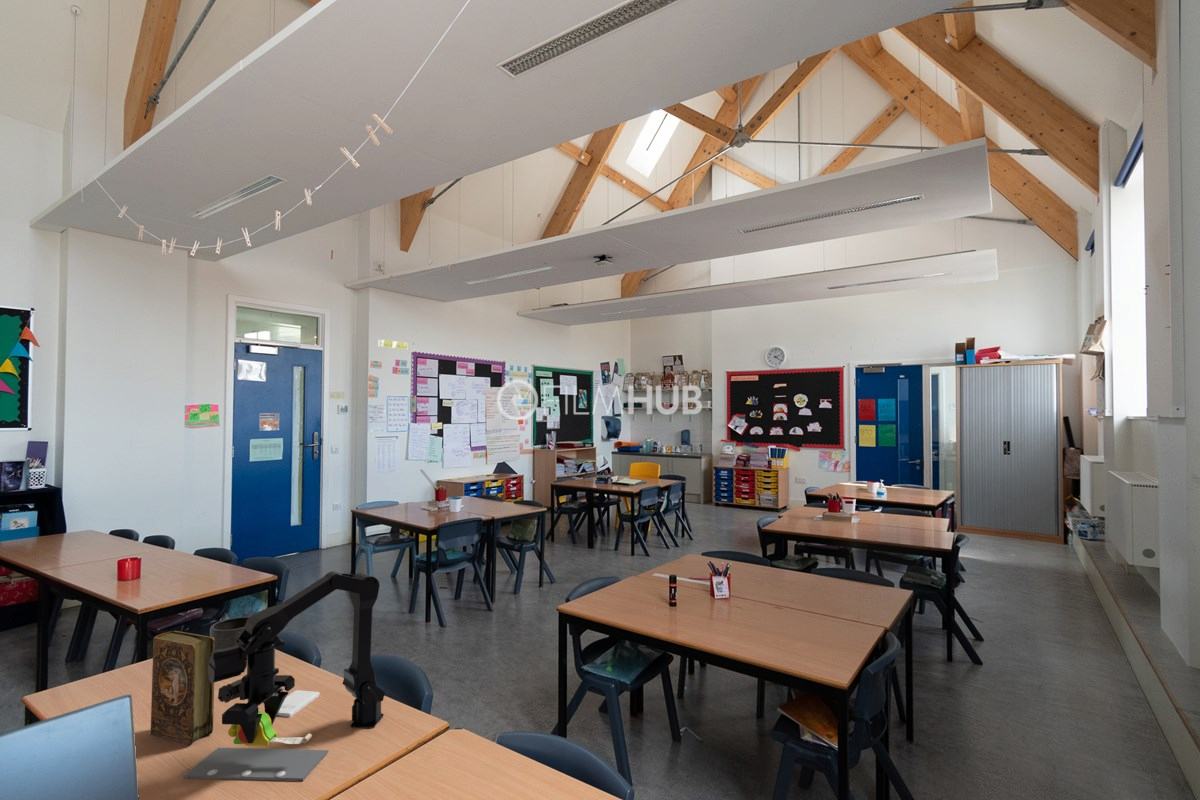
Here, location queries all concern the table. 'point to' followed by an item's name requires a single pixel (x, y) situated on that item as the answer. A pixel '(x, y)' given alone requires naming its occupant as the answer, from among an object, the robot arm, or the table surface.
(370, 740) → the table surface
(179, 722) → the book
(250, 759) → the marked mat
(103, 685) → the table surface
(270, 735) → the toy measuring tape
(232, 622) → the planter
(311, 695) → the external hard drive
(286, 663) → the table surface
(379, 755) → the table surface
